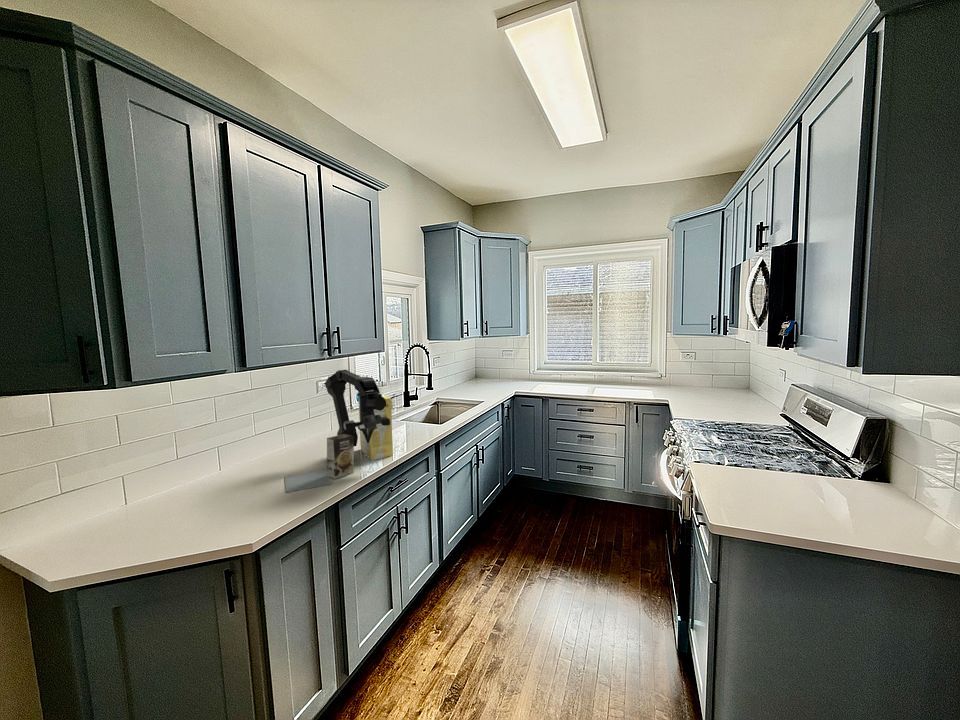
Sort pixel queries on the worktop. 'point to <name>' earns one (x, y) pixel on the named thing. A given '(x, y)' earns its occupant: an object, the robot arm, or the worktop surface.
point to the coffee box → (340, 455)
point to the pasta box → (379, 435)
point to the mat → (306, 480)
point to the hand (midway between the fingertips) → (367, 442)
